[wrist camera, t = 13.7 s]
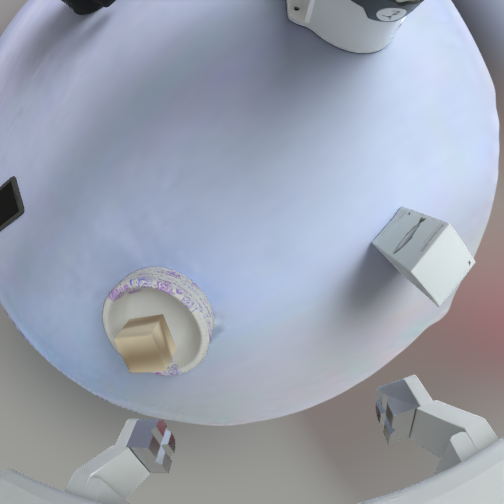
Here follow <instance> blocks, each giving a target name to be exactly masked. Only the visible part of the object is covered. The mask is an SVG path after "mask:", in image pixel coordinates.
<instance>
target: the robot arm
mask: <svg viewBox="0 0 504 504" xmlns="http://www.w3.org/2000/svg"><path fill="white" fill-rule="evenodd" d="M423 1H424V0H286V2H287V13H288V18H289V19H290V20H291V21H292V22H294V23H296V24H299V25H301V26H304V27H307V28H309V29H311V30H312V31H314V32H315V33H316V34H317V35H318V36H320V37H321V38H322V39H324V40H325V41H327V42H328V43H330V44H332V45H334V46H336V47H338V48H341V49H344V50H347V51H351V52H356V53H372V52H376V51H379V50H381V49H383V48H385V47H386V46H387V45H388V44H389V43H390V41H391V40H392V38H393V35H394V33H395V31H396V29H397V28H398V26H399V25H401V24H402V23H403V21H404V20H405V16H406V15H408V14H409V13H410V12H412V11H413V10H414V9H415V8H416V7H417V6H418V5H419V4H420V3H422V2H423ZM294 8H297V9H299V10H294ZM377 396H378V400H377V402H376V414H377V418H378V421H379V423H380V424H381V425H383V426H384V431H383V433H384V435H385V438H386V440H387V443H388V444H393V443H395V442H398V441H402V440H405V439H408V438H409V439H410V440H412V441H413V442H415V443H417V444H418V445H420V446H421V447H423V448H424V449H426V450H428V451H429V452H431V453H432V454H434V455H436V456H437V457H439V458H441V460H440V462H439V464H438V466H437V468H436V470H435V472H434V473H435V476H432V477H430V478H428V479H426V480H423V481H421V482H418V483H416V484H413V485H411V486H408V487H406V488H403V489H400V490H398V491H395V492H392V493H389V494H386V495H383V496H380V497H377V498H373V499H370V500H367V501H363V502H360V503H356V504H504V437H503V438H501V439H498V437H497V436H496V434H495V433H494V431H493V430H492V428H491V427H490V426H489V424H488V423H487V421H486V420H485V419H484V418H482V417H479V416H477V415H474V414H472V413H469V412H466V411H463V410H461V409H458V408H456V407H453V406H451V405H448V404H445V403H443V402H440V401H438V400H435V401H433V400H432V399H431V397H430V395H429V394H428V392H427V391H426V389H425V388H424V387H423V385H422V383H421V382H420V380H419V379H418V378H417V376H416V375H412V376H409V377H407V378H404V379H400V380H397V381H394V382H392V383H389V384H386V385H383V386H379V387H378V388H377ZM166 427H167V425H166V423H165V422H164V420H154V419H153V420H152V419H131V418H130V419H128V420H127V421H126V423H125V425H124V427H123V429H122V431H121V434H120V436H119V438H118V440H117V442H116V444H115V446H111V447H109V448H108V449H106V450H105V451H104V452H102V453H101V454H99V455H98V456H96V457H95V458H94V459H92V460H91V461H89V462H88V463H86V464H85V465H83V466H82V467H80V468H79V469H77V470H76V471H75V472H74V474H73V476H72V478H71V480H70V482H69V484H68V486H67V488H66V490H65V491H62V490H59V489H56V488H54V487H51V486H49V485H46V484H44V483H42V482H39V481H37V480H35V479H33V478H30V477H28V476H26V475H24V474H22V473H20V472H18V471H16V470H13V469H6V470H3V471H1V472H0V504H129V503H128V502H127V501H125V500H124V499H125V498H126V497H127V496H128V495H129V494H130V493H131V492H132V491H133V490H134V489H135V488H136V487H137V486H138V485H139V484H140V483H141V482H142V481H143V480H144V479H145V478H146V477H147V476H148V475H149V474H150V472H152V473H169V470H170V466H171V463H172V460H171V459H170V456H171V455H172V454H173V453H174V451H175V439H174V436H173V434H172V433H171V432H170V431H168V430H166Z"/></svg>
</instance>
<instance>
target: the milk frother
mask: <svg viewBox="0 0 504 504" xmlns="http://www.w3.org/2000/svg"><path fill="white" fill-rule="evenodd" d="M61 1H63V2H64V3H66V4H67V5H69V7H70V8H72V9H73V10H74V12H75V13H77V14H81V15H84V14H88V13H91V12H93V11H95V10H97V9H99V8H100V7H102V6H103V7H109V6H110V5H111V4H112V3H113V2H114V1H115V0H61Z"/></svg>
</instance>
